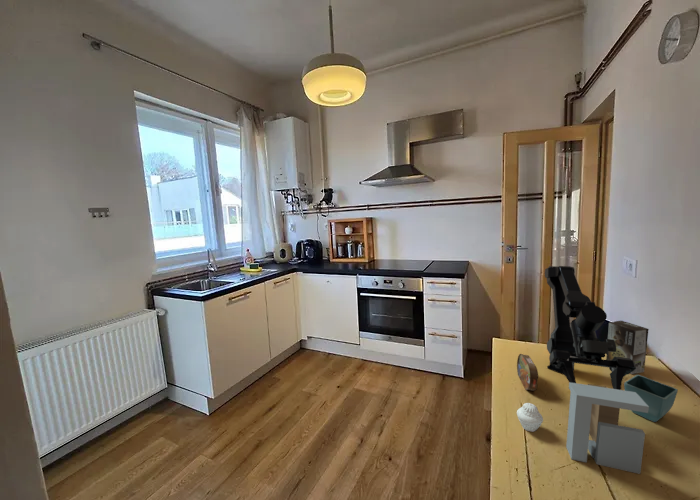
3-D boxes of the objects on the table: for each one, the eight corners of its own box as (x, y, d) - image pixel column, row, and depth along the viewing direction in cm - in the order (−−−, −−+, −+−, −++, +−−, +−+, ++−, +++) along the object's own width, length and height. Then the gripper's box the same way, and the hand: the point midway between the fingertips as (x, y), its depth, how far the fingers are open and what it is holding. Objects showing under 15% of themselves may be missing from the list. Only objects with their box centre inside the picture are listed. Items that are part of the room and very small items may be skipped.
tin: (515, 371, 112) (517, 349, 111) (525, 372, 111) (526, 350, 110) (527, 395, 98) (529, 370, 96) (538, 396, 97) (540, 371, 96)
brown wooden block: (584, 424, 84) (587, 383, 82) (602, 427, 83) (606, 386, 81) (595, 445, 77) (599, 401, 75) (615, 449, 75) (620, 404, 74)
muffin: (514, 418, 87) (515, 395, 86) (538, 422, 85) (540, 399, 84) (518, 433, 81) (520, 409, 80) (545, 438, 79) (546, 413, 78)
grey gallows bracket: (564, 442, 78) (569, 382, 76) (629, 456, 73) (636, 392, 71) (571, 459, 73) (576, 395, 70) (641, 475, 68) (650, 406, 66)
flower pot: (661, 430, 81) (665, 398, 80) (620, 411, 89) (623, 382, 88) (674, 418, 85) (678, 389, 84) (634, 401, 93) (637, 374, 92)
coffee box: (645, 372, 109) (650, 328, 107) (631, 374, 108) (636, 331, 105) (617, 360, 118) (621, 319, 116) (604, 362, 116) (608, 321, 114)
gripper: (554, 322, 88) (563, 378, 79) (636, 330, 81) (655, 392, 73) (546, 338, 96) (553, 390, 87) (619, 346, 90) (635, 403, 81)
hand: (596, 393), depth 82 cm, fingers open, 9 cm apart
